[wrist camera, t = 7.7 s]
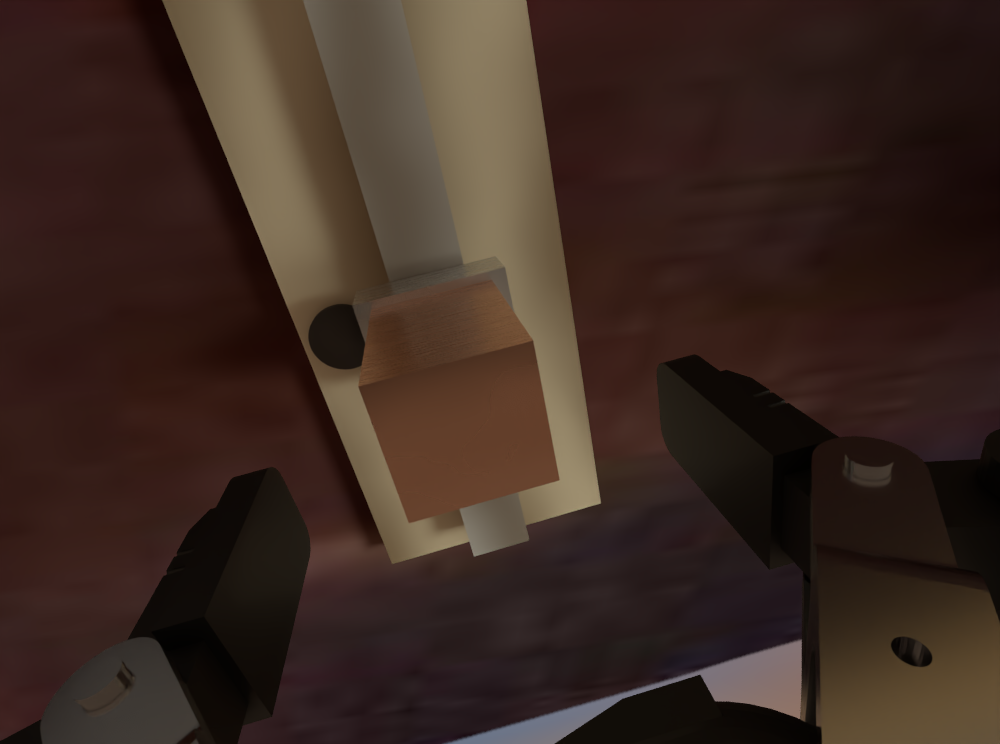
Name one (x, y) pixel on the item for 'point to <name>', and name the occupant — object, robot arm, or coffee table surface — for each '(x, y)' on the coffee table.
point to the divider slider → (453, 389)
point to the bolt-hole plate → (339, 226)
